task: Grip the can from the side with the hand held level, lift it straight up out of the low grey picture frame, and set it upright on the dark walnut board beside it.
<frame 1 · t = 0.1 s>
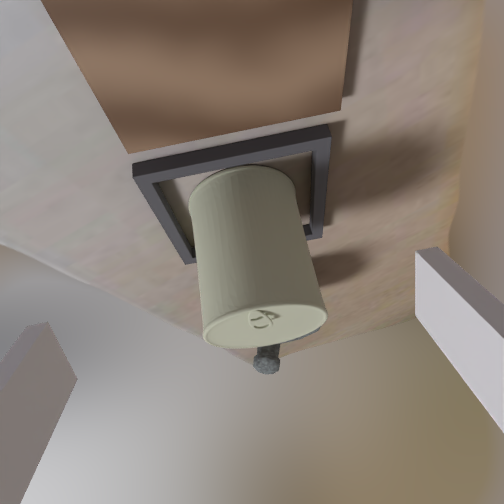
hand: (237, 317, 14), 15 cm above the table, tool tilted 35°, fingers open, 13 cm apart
can: (242, 199, 34), resting in grey picture frame
grey picture frame: (242, 201, 34), on the table
mortar and pestle: (268, 276, 49), on the table
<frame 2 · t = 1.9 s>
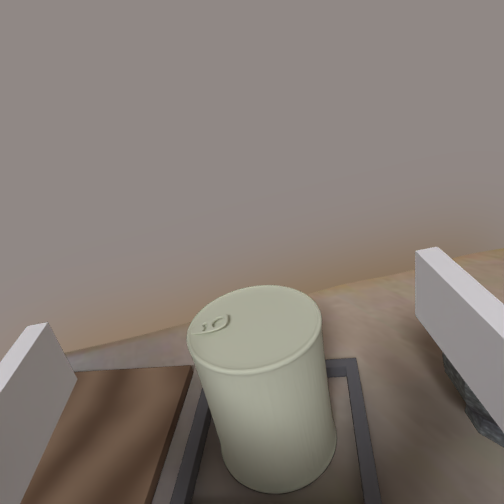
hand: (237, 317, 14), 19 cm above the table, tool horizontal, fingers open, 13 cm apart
walnut board: (88, 435, 35), on the table
can: (278, 438, 31), resting in grey picture frame
grey picture frame: (278, 436, 31), on the table
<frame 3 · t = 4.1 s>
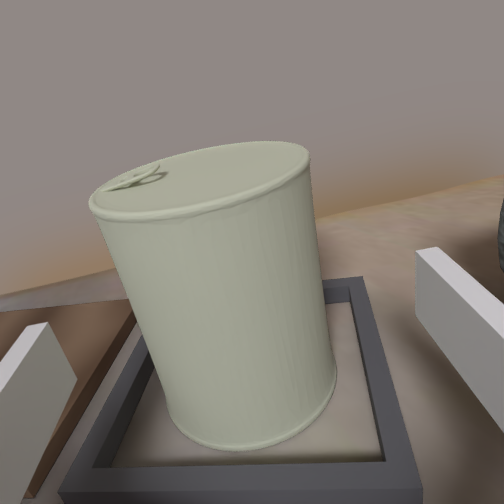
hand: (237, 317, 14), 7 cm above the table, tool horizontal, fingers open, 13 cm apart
can: (251, 378, 21), resting in grey picture frame
grey picture frame: (250, 375, 21), on the table
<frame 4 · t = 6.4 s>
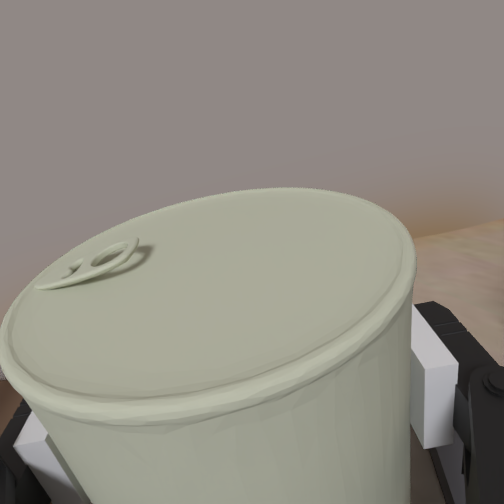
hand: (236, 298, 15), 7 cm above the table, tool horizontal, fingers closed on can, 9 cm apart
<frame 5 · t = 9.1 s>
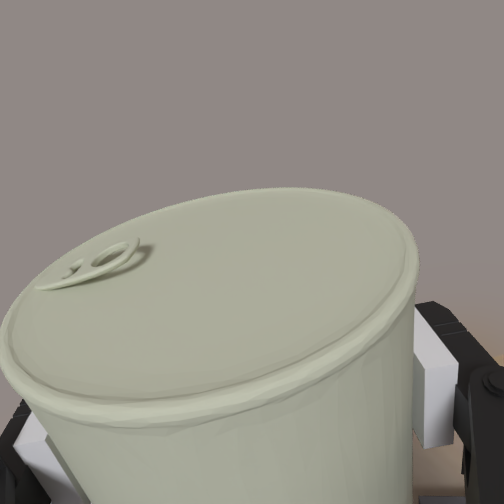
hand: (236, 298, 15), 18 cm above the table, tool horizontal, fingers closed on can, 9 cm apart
when the fingers open (10 cm above the table, at t = 11.9 s): can drops 1 cm, resting on walnut board.
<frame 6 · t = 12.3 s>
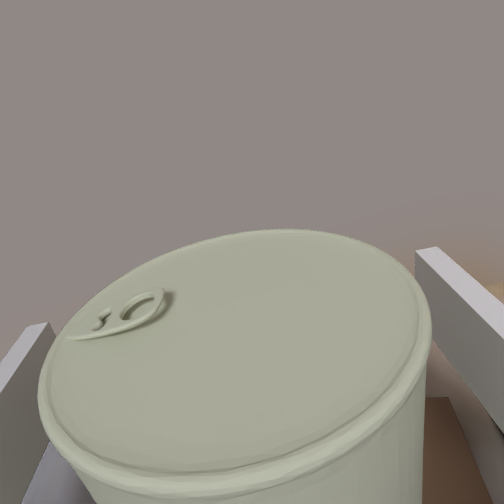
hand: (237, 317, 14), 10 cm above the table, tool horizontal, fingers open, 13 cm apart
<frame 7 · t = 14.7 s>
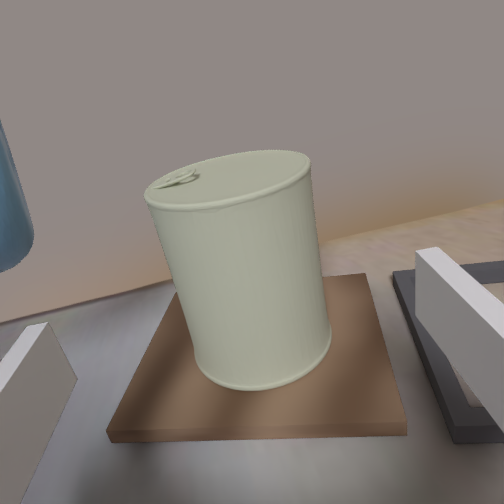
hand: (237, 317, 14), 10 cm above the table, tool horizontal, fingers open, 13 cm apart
walnut board: (261, 349, 27), on the table
can: (263, 341, 26), point 1 cm above the table, touching walnut board
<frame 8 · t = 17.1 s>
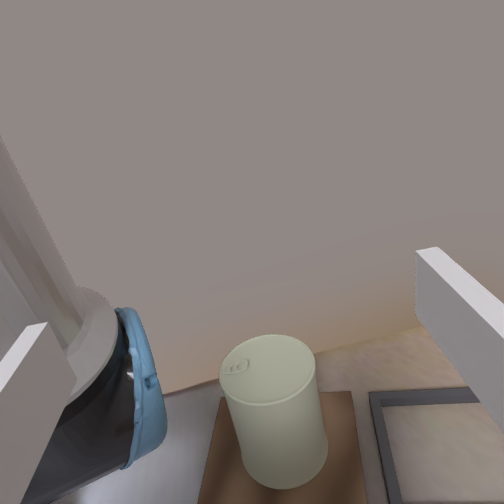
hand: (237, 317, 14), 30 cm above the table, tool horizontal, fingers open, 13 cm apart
walnut board: (283, 452, 42), on the table
can: (284, 448, 42), point 1 cm above the table, touching walnut board
grey picture frame: (453, 453, 39), on the table
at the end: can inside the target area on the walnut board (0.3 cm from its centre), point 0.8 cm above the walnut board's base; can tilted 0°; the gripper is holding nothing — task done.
